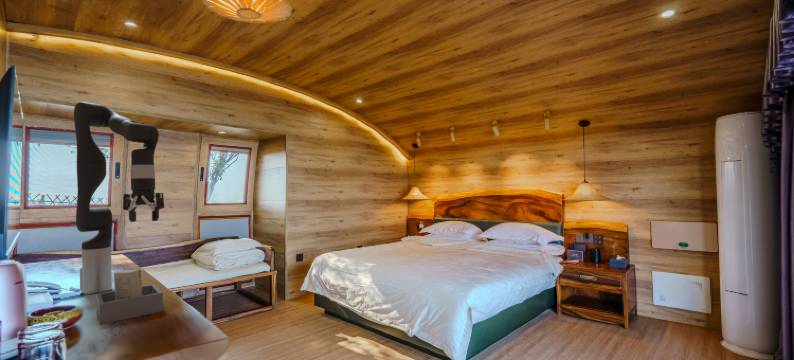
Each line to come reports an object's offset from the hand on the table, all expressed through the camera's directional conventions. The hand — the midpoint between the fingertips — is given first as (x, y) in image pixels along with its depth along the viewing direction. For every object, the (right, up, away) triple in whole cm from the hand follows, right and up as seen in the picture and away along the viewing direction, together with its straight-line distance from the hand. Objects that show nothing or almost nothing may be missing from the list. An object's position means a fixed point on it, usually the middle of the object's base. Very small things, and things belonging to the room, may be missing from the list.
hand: (144, 221), depth 139 cm
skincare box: (+7, -27, -17) cm, 32 cm away
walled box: (+7, -28, -17) cm, 33 cm away
